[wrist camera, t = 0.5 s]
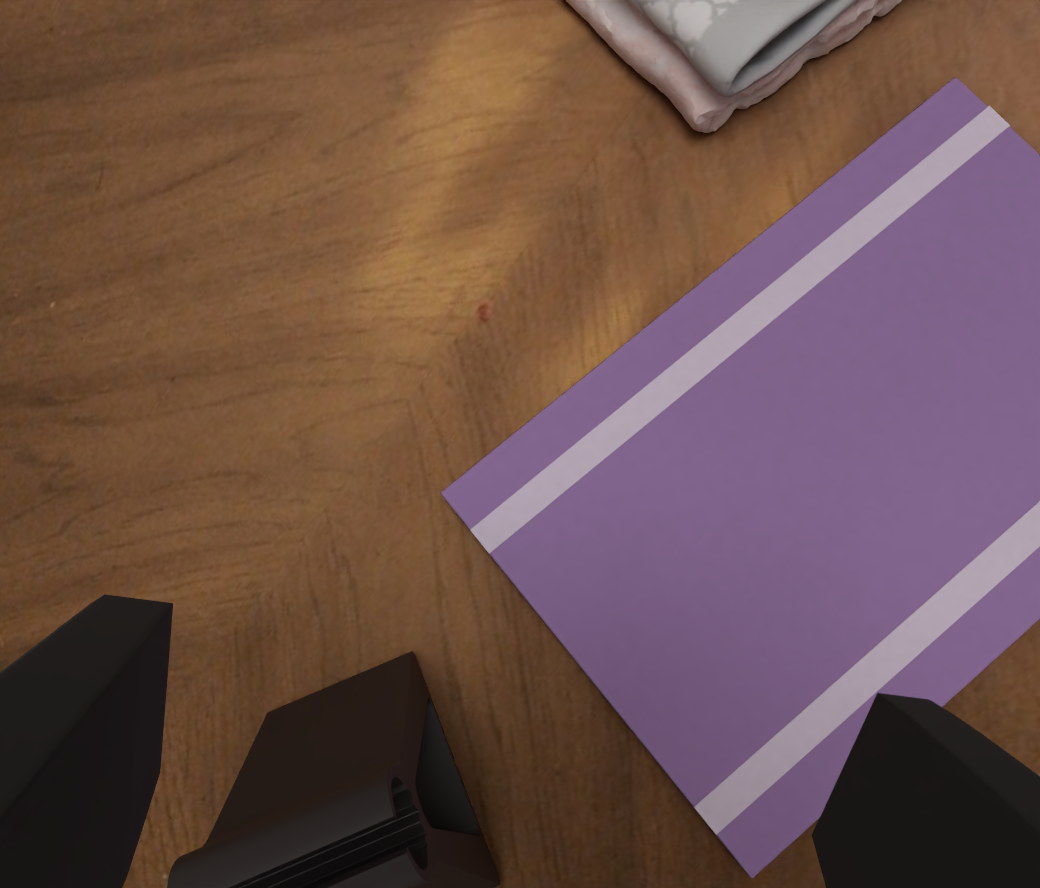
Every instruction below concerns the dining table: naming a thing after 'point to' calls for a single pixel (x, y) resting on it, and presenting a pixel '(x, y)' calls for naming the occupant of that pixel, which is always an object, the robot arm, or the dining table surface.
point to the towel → (724, 45)
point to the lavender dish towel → (800, 477)
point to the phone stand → (347, 797)
